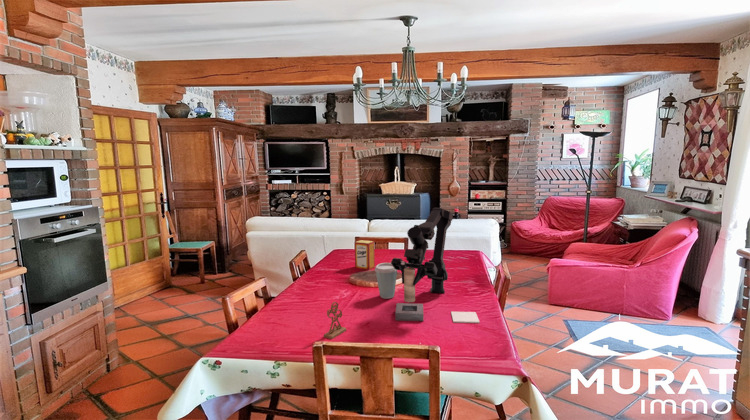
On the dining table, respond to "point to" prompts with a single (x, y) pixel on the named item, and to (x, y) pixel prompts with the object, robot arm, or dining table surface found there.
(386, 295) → the disposable coffee cup
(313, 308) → the dining table surface
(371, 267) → the baking soda box
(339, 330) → the gingerbread man figurine
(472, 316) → the white mat
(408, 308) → the socket block
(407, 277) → the birch peg
